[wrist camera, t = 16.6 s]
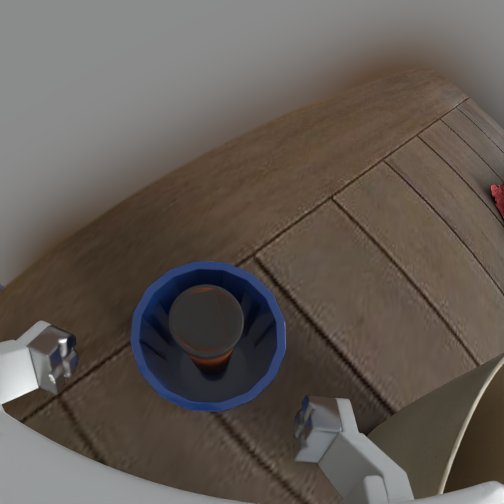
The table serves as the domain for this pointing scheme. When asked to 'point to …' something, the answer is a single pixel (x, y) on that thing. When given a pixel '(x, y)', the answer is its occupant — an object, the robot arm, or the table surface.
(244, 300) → the cup
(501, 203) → the plate with food
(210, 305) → the orange tube bottle
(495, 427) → the plant pot
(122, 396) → the table surface
